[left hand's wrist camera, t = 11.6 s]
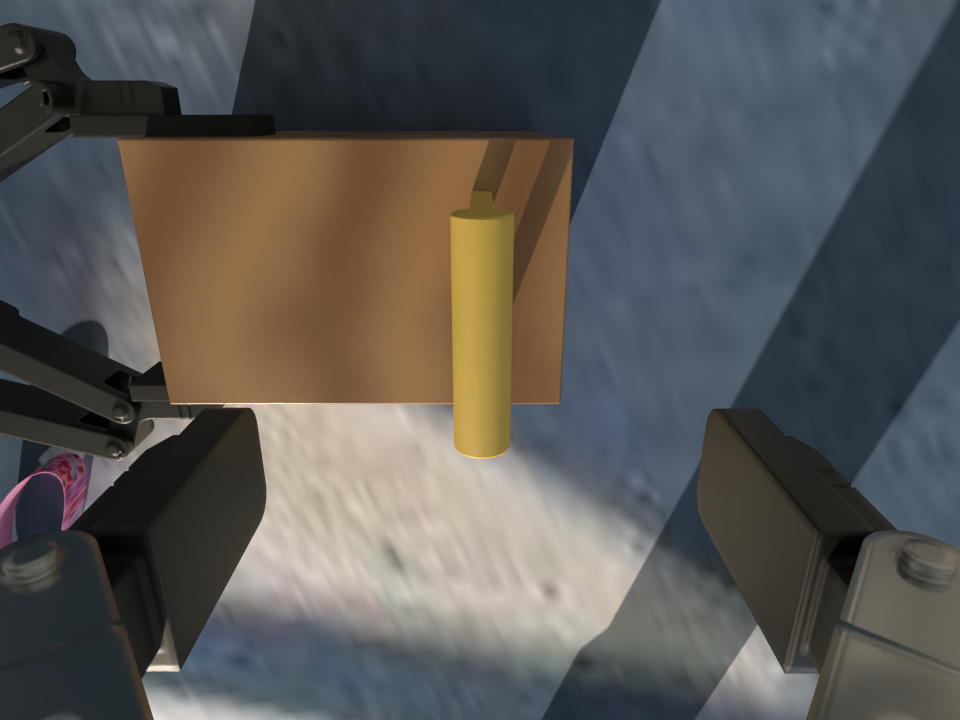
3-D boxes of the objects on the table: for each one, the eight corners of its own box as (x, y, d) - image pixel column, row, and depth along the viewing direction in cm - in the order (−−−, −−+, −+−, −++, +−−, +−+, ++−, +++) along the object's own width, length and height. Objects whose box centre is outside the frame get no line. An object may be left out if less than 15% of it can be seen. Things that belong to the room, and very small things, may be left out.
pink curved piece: (27, 436, 36) (0, 456, 34) (96, 459, 37) (75, 480, 35) (-2, 576, 40) (-27, 602, 38) (62, 595, 40) (41, 621, 38)
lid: (570, 137, 22) (616, 147, 15) (558, 394, 25) (589, 507, 18) (131, 137, 22) (-45, 147, 15) (180, 395, 25) (59, 507, 18)
